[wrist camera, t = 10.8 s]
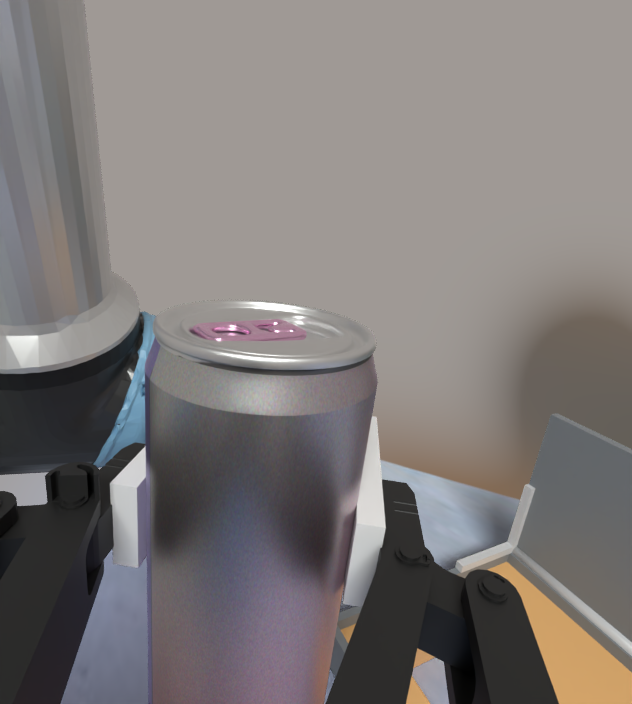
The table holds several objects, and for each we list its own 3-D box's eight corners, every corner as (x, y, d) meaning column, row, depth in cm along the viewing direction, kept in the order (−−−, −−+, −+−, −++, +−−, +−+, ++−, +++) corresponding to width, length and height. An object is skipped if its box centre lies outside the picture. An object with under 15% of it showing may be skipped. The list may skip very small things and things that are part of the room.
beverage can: (129, 691, 16) (117, 299, 11) (268, 619, 19) (300, 296, 15) (184, 893, 11) (200, 377, 7) (351, 751, 15) (434, 347, 10)
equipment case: (319, 647, 32) (351, 450, 27) (506, 568, 42) (556, 413, 36) (488, 976, 19) (616, 713, 13) (705, 748, 28) (828, 543, 23)
